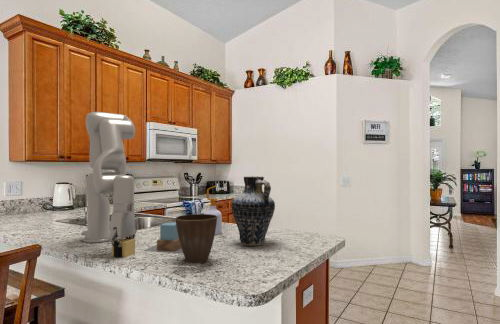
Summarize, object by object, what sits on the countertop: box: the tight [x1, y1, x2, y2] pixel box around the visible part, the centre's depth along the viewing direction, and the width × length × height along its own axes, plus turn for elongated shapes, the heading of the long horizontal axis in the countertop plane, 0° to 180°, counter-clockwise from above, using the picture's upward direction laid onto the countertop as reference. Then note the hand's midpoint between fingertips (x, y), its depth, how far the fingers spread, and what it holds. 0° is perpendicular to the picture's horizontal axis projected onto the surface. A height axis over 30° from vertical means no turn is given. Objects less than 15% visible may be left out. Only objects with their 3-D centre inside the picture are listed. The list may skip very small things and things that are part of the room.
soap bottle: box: [204, 185, 223, 236], centre depth 166 cm, size 9×9×25 cm
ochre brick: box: [111, 238, 136, 258], centre depth 123 cm, size 6×6×6 cm
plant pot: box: [174, 213, 217, 265], centre depth 116 cm, size 15×15×16 cm
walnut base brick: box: [156, 238, 181, 251], centre depth 132 cm, size 8×8×4 cm
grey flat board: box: [143, 244, 183, 254], centre depth 132 cm, size 18×12×1 cm, turn 76°
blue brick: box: [159, 222, 179, 241], centre depth 133 cm, size 6×6×6 cm
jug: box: [230, 175, 276, 246], centre depth 143 cm, size 21×19×30 cm
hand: (123, 254), depth 123 cm, fingers closed on ochre brick, 6 cm apart
